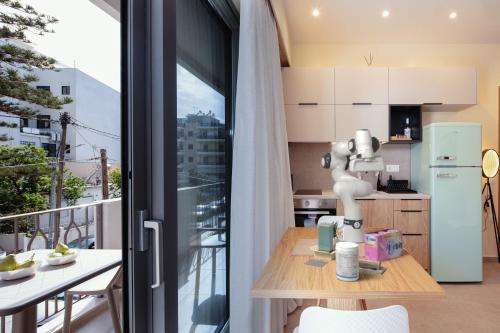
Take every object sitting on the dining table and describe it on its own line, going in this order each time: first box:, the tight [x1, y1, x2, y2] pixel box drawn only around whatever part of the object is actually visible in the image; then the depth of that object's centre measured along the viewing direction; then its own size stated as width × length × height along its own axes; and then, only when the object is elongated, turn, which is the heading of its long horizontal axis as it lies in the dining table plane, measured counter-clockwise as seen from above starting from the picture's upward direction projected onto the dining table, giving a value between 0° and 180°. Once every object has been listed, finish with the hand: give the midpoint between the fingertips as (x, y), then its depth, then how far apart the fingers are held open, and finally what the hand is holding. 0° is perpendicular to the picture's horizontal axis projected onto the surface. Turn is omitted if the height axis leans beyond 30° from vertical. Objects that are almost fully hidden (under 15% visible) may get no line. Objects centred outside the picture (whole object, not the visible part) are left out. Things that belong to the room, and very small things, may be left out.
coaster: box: [303, 258, 329, 268], centre depth 159 cm, size 9×9×1 cm
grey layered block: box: [359, 257, 387, 275], centre depth 152 cm, size 18×5×10 cm
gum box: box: [364, 228, 404, 262], centre depth 170 cm, size 24×8×14 cm, turn 123°
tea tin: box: [317, 222, 334, 253], centre depth 170 cm, size 6×5×17 cm
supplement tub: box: [335, 241, 360, 282], centre depth 139 cm, size 10×10×15 cm
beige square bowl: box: [309, 244, 336, 261], centre depth 170 cm, size 15×15×5 cm
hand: (368, 179), depth 186 cm, fingers open, 8 cm apart
